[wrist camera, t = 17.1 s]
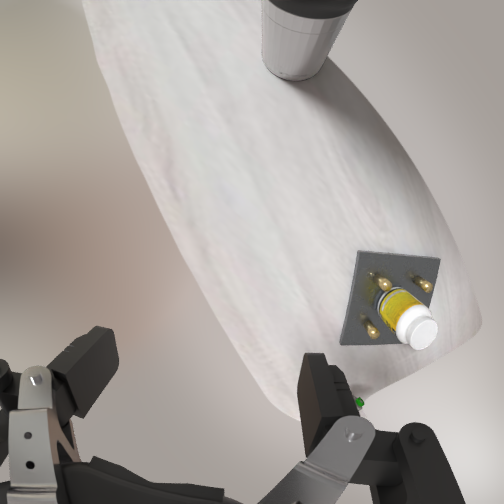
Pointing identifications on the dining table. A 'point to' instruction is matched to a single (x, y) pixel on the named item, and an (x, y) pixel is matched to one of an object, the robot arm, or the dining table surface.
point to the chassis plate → (376, 284)
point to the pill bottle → (407, 318)
